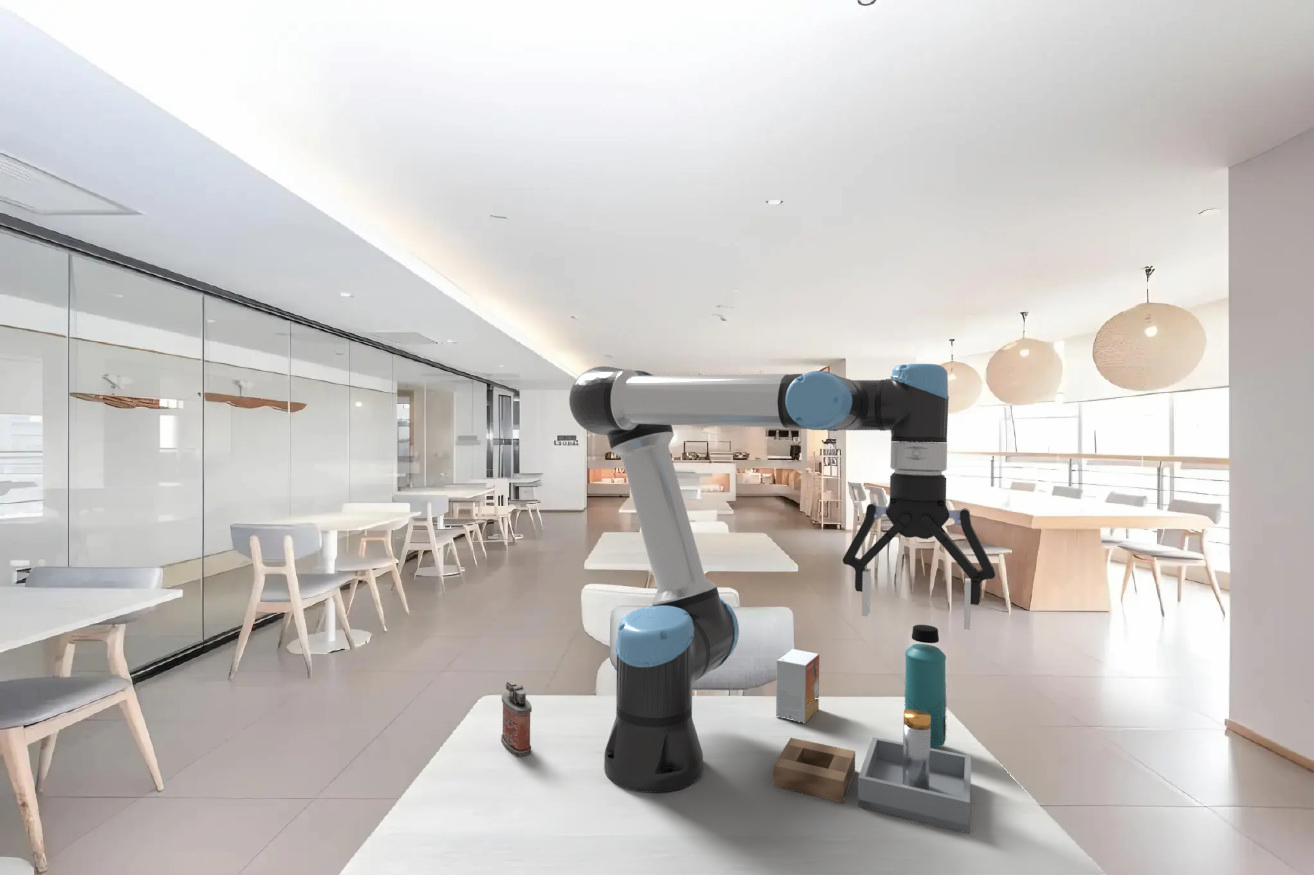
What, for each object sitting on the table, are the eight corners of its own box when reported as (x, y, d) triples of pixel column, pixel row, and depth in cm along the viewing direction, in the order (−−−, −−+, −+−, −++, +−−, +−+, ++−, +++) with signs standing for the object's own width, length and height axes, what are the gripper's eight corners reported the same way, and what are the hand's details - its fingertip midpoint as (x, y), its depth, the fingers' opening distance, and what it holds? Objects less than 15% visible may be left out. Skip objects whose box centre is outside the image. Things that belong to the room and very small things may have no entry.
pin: (901, 790, 95) (902, 716, 95) (903, 778, 99) (904, 707, 99) (928, 796, 94) (930, 721, 94) (930, 784, 97) (931, 711, 97)
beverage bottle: (950, 759, 107) (952, 633, 107) (906, 754, 108) (908, 630, 108) (941, 740, 113) (943, 622, 113) (900, 736, 115) (901, 619, 114)
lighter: (535, 753, 107) (536, 691, 107) (515, 759, 105) (516, 695, 105) (516, 734, 114) (516, 675, 114) (496, 739, 112) (497, 679, 112)
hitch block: (773, 785, 98) (773, 765, 98) (790, 756, 107) (790, 737, 107) (843, 802, 94) (843, 781, 94) (855, 770, 103) (855, 751, 103)
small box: (805, 725, 119) (805, 665, 119) (775, 717, 122) (775, 659, 122) (819, 709, 126) (820, 653, 126) (791, 702, 129) (791, 648, 129)
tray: (857, 806, 93) (858, 777, 93) (872, 762, 106) (872, 736, 106) (969, 833, 87) (969, 802, 87) (970, 783, 100) (970, 756, 100)
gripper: (824, 470, 98) (821, 614, 99) (1017, 478, 87) (1014, 640, 88) (834, 468, 105) (832, 603, 105) (1015, 475, 94) (1012, 625, 94)
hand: (914, 620), depth 97 cm, fingers open, 13 cm apart
